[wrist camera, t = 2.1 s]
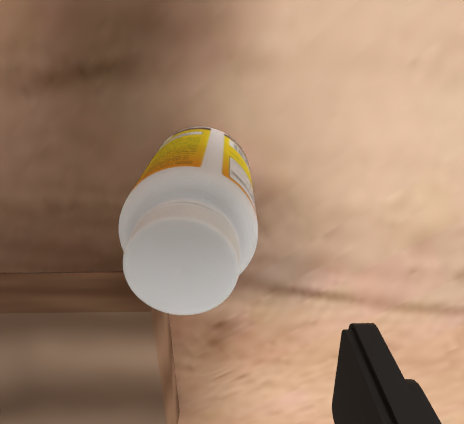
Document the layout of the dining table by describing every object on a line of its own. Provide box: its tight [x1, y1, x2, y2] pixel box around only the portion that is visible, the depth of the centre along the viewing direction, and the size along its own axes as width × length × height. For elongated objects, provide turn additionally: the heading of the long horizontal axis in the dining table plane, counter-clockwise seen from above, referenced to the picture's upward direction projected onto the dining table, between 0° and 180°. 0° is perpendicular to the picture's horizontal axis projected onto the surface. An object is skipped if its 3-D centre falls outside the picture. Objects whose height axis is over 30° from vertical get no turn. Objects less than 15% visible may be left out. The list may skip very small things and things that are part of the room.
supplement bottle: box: [119, 127, 258, 315], centre depth 17 cm, size 6×6×10 cm
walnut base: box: [0, 272, 179, 424], centre depth 26 cm, size 14×14×4 cm
